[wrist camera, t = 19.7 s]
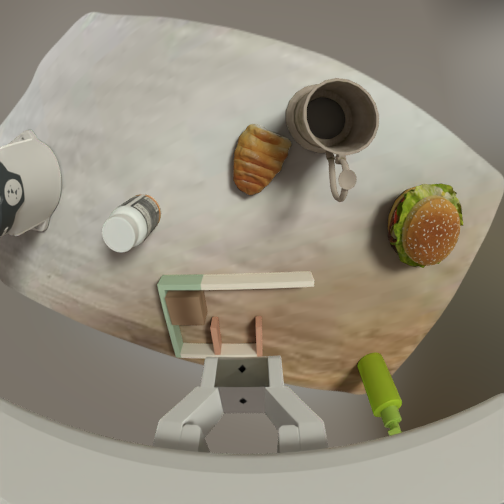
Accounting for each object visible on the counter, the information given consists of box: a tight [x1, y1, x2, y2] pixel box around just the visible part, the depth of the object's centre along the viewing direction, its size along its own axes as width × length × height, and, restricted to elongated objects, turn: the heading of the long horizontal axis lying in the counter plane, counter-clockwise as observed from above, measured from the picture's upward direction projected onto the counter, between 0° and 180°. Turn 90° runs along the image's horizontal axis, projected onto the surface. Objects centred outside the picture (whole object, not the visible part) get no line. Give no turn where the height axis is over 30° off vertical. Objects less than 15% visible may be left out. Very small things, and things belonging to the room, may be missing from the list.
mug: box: [286, 78, 379, 202], centre depth 30 cm, size 14×10×12 cm
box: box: [157, 271, 314, 358], centre depth 47 cm, size 24×16×3 cm, turn 92°
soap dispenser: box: [357, 353, 402, 436], centre depth 45 cm, size 6×7×20 cm
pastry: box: [233, 124, 291, 195], centre depth 36 cm, size 9×7×4 cm
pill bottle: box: [102, 194, 161, 252], centre depth 36 cm, size 6×6×10 cm
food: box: [388, 184, 463, 268], centre depth 37 cm, size 14×14×8 cm
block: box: [165, 290, 207, 325], centre depth 45 cm, size 6×6×4 cm
